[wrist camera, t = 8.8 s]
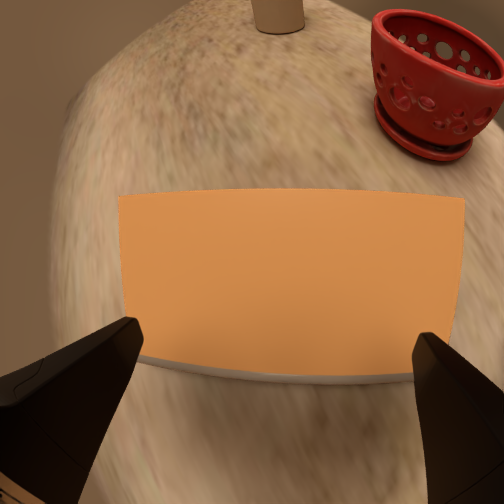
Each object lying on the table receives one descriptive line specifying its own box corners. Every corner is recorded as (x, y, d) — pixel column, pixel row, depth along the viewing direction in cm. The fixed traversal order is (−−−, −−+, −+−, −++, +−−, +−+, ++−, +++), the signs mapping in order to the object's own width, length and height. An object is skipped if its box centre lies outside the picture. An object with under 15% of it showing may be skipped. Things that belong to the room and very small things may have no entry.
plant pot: (404, 78, 27) (418, 2, 16) (484, 144, 23) (524, 70, 12) (336, 113, 27) (340, 13, 15) (432, 198, 22) (489, 103, 11)
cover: (432, 373, 14) (438, 381, 13) (140, 357, 17) (133, 364, 16) (456, 199, 12) (465, 198, 11) (127, 196, 16) (117, 196, 15)
